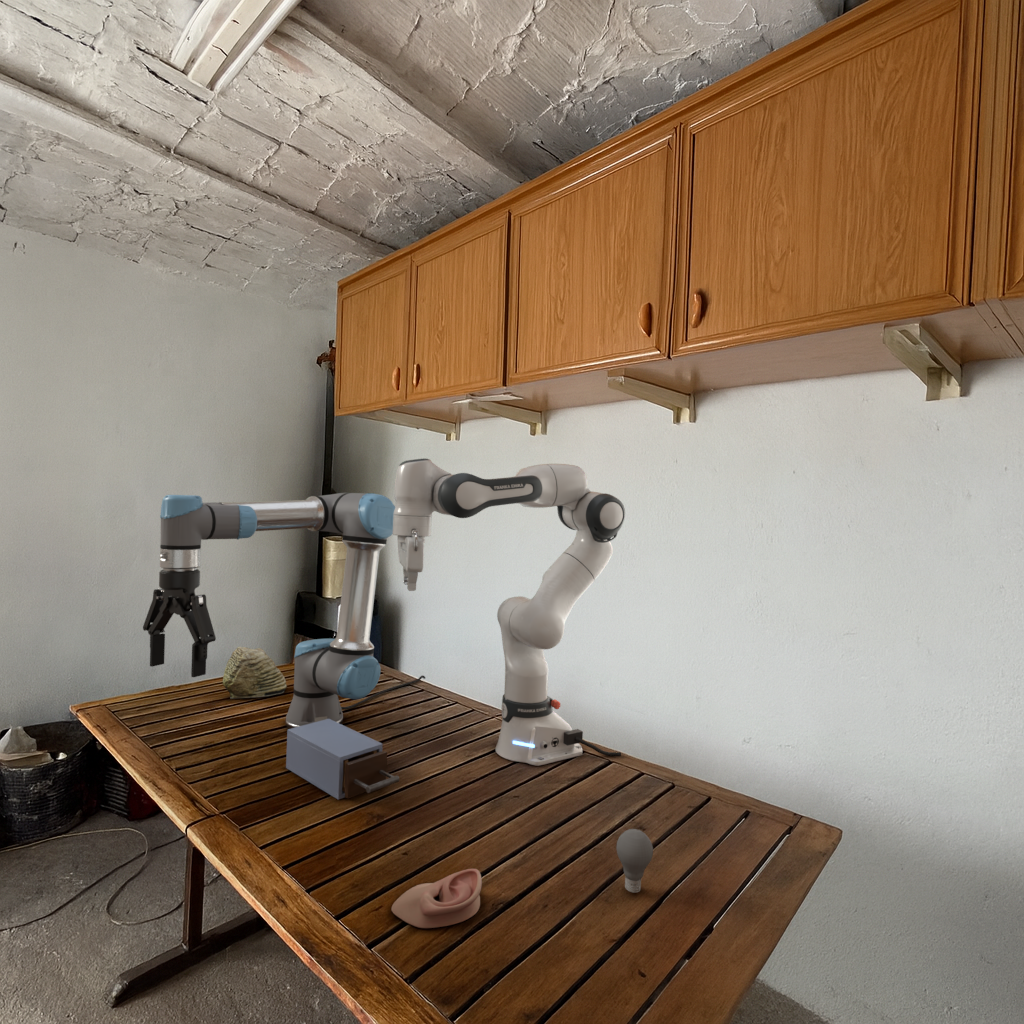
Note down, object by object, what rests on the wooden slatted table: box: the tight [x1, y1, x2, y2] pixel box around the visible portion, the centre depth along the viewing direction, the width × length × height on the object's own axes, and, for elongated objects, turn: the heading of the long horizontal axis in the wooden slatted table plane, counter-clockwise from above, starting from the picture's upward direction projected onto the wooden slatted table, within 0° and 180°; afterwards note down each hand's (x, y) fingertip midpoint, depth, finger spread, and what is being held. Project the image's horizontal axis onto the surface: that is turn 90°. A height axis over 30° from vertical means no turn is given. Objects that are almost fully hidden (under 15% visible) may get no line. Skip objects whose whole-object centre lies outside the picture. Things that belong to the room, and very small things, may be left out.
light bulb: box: [615, 828, 654, 894], centre depth 106 cm, size 6×6×10 cm
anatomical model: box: [391, 868, 483, 929], centre depth 99 cm, size 13×4×12 cm
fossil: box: [222, 646, 288, 699], centre depth 198 cm, size 9×18×15 cm, turn 132°
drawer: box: [342, 750, 400, 799], centre depth 140 cm, size 26×10×7 cm, turn 49°
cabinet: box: [285, 719, 384, 801], centre depth 144 cm, size 21×11×9 cm, turn 49°
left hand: (177, 670), depth 132 cm, fingers open, 13 cm apart
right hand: (409, 587), depth 147 cm, fingers open, 8 cm apart
